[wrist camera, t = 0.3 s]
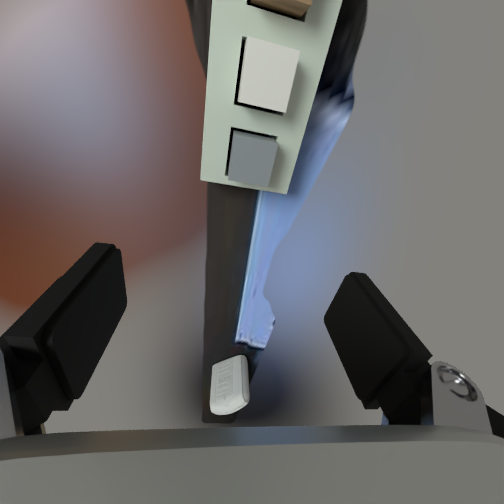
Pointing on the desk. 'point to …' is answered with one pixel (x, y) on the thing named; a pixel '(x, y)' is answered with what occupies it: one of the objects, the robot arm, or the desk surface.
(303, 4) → the walnut key
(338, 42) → the desk surface
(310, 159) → the desk surface
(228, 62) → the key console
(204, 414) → the desk surface
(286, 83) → the white key
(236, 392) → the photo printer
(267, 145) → the slate key
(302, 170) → the desk surface
